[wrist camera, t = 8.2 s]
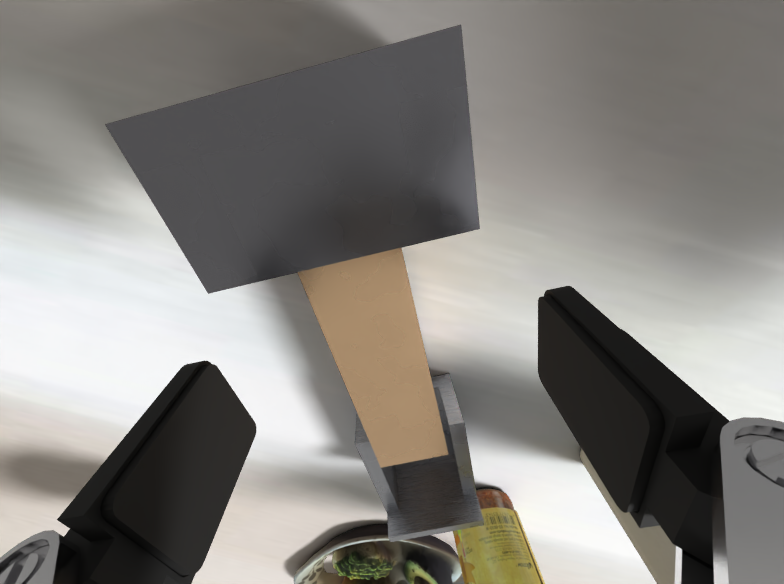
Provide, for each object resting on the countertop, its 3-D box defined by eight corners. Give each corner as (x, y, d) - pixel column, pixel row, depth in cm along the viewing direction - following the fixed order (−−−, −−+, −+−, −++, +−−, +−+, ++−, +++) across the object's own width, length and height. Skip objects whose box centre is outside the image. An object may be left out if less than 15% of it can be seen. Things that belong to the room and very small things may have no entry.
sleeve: (449, 373, 21) (471, 445, 17) (463, 450, 26) (484, 525, 21) (357, 392, 22) (353, 469, 17) (387, 465, 26) (390, 541, 21)
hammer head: (421, 68, 13) (461, 24, 7) (438, 188, 15) (479, 228, 10) (219, 123, 13) (105, 124, 8) (267, 230, 16) (208, 293, 10)
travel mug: (628, 473, 29) (930, 888, 13) (559, 460, 27) (813, 918, 12) (693, 418, 26) (1209, 894, 10) (619, 399, 24) (1100, 938, 8)
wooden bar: (377, 122, 13) (379, 122, 9) (438, 396, 21) (452, 457, 17) (278, 148, 13) (239, 159, 9) (376, 409, 21) (377, 471, 18)
